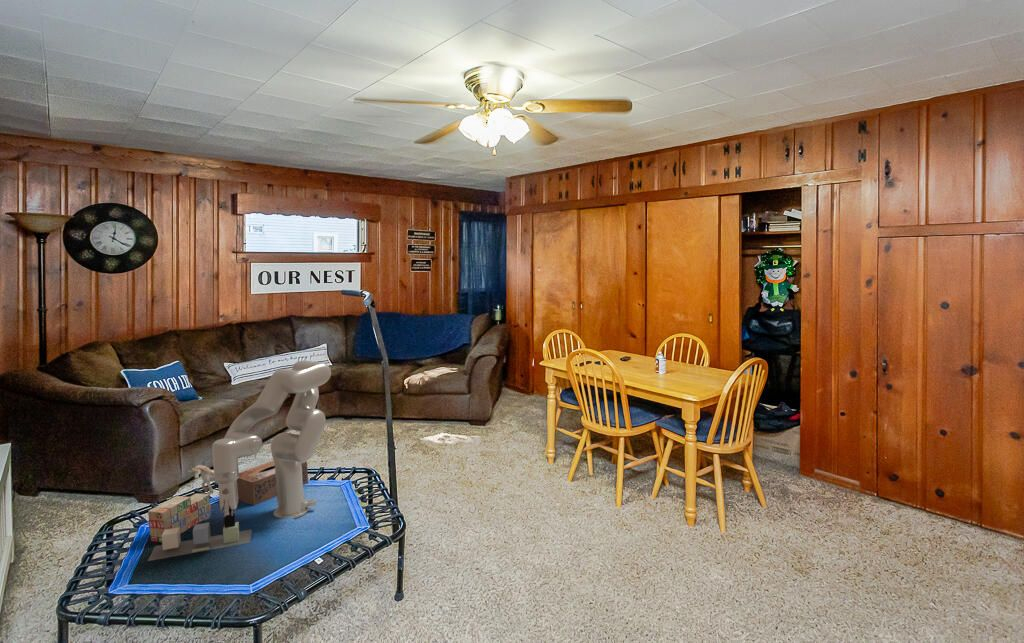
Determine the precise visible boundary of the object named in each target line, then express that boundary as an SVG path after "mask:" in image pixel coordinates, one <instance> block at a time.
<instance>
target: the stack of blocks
mask: <svg viewBox="0 0 1024 643" xmlns="http://www.w3.org/2000/svg"><path fill="white" fill-rule="evenodd" d="M210 496H211V495H209V494H208V493H207V494H206V493H198V492H197V493H194V494H192V495H190V496H181V495H180V496H178V495H175V496H174V497H172V498H170V499H168V500H167V501H164V502H163V503H160V504H159V505H157V506H155V507H153V508H150V509H149V510H148V514H147V515H148V526H149V534H150V537H149V538H150V542H157V543H162V534H163V532H164V530H166V529H172V528H178V527H180V535H181V534H183V533H185V532H186V531H187V530H188V529H190V528H192V527H194V526H195V525H196V524H200V523H201V522H202V521H203V522H204V521H208V520H209V519H211V518H212V504H211V497H210Z"/></svg>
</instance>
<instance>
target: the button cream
mask: <svg viewBox="0 0 1024 643" xmlns="http://www.w3.org/2000/svg"><path fill="white" fill-rule="evenodd" d="M180 542H182V540H181V534H180V527H178V528H172V529H166V530H164V532H163V534H162V542H161V545H162V546H163V550H166V549H172V548H178V547H179V544H180Z"/></svg>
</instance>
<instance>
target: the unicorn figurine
mask: <svg viewBox="0 0 1024 643" xmlns="http://www.w3.org/2000/svg"><path fill="white" fill-rule="evenodd" d="M191 469H192V470H188V471H187V473H193V474H194V479H195V480H198V479H199V478H200V477H199V476H201V479H202V482H201V487H202V489H203V491H205V493H207V494H209V496H211V494H214V488H213V487H212V484H211V482H215V481H214V469H211V468H209V467H208V466H206V465H202V464H198V465H196V466H195V467H194V468H192V467H191ZM205 484H206V485H207V486H205Z"/></svg>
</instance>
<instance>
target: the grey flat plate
mask: <svg viewBox="0 0 1024 643" xmlns="http://www.w3.org/2000/svg"><path fill="white" fill-rule="evenodd" d="M252 532H253V529H247V530H242V531H240V530H239V534H240V535H239V540H238V541H235V542H229V543H224V536H223V534H218V535H213V536H212V535H210V539H209V542H206V543H200V544H195V545H194V541H193V539H190V540H183V541H182V540H181V542H180V544H179V547H178V548H172V549H166V550H163V546H162V544H161V545H160V544H159V545H155V546H154V548H153V549H152V551H151V554H150V555H149V557H148V559H147V562H150V561H157V560H162V559H167V558H172V557H173V558H174V557H179V556H184V555H189V554H195V553H200V552H206V551H212V550H218V549H222V548H229V547H234V546H239V545H245V544H246V545H247V544H250V543H251V538H252Z"/></svg>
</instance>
